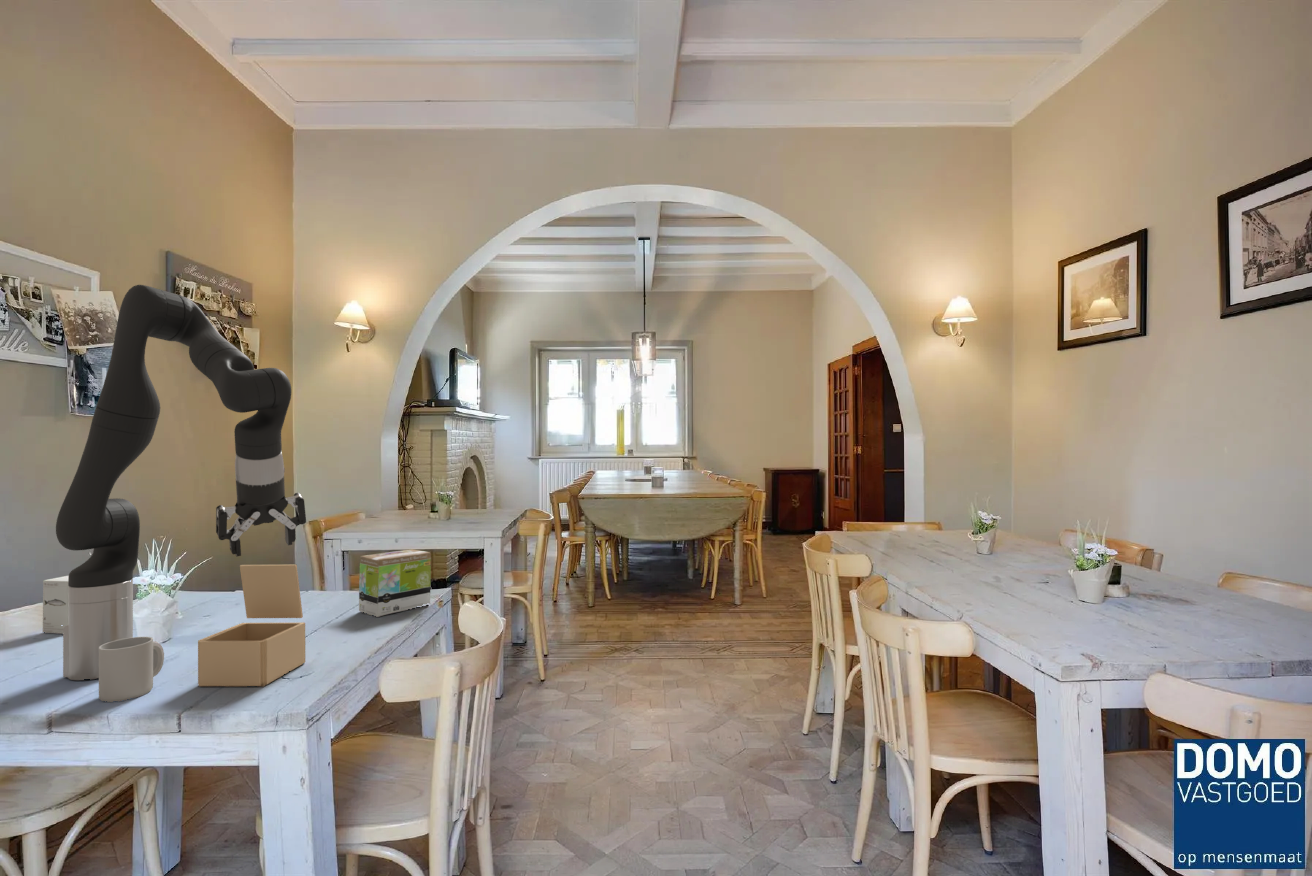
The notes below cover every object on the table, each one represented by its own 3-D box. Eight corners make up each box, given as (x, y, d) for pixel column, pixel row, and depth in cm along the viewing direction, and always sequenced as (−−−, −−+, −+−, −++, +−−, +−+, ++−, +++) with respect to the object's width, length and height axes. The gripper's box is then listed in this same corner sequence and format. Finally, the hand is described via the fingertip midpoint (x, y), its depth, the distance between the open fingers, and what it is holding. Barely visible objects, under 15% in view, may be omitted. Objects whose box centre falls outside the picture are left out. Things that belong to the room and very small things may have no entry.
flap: (246, 618, 121) (239, 565, 120) (248, 617, 122) (241, 564, 120) (301, 617, 121) (295, 565, 119) (302, 617, 121) (296, 564, 120)
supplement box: (41, 633, 144) (41, 580, 144) (75, 624, 151) (75, 573, 151) (66, 635, 142) (67, 580, 143) (100, 625, 150) (100, 574, 150)
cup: (87, 701, 104) (87, 648, 104) (146, 679, 113) (146, 631, 114) (121, 704, 102) (121, 650, 102) (178, 681, 112) (178, 632, 112)
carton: (194, 687, 109) (194, 641, 109) (244, 662, 121) (243, 622, 122) (264, 687, 109) (264, 641, 109) (306, 662, 121) (306, 621, 121)
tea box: (378, 618, 153) (377, 559, 153) (358, 612, 159) (357, 555, 159) (431, 605, 165) (431, 550, 165) (411, 600, 171) (411, 547, 171)
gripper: (297, 460, 119) (299, 531, 125) (208, 471, 109) (215, 547, 115) (309, 476, 114) (310, 549, 120) (217, 490, 105) (223, 568, 110)
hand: (263, 548), depth 118 cm, fingers open, 8 cm apart
